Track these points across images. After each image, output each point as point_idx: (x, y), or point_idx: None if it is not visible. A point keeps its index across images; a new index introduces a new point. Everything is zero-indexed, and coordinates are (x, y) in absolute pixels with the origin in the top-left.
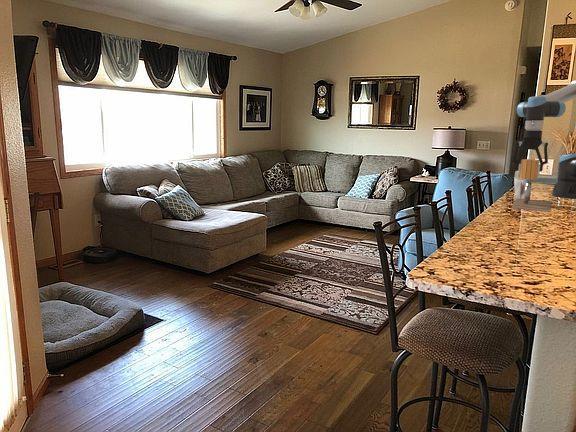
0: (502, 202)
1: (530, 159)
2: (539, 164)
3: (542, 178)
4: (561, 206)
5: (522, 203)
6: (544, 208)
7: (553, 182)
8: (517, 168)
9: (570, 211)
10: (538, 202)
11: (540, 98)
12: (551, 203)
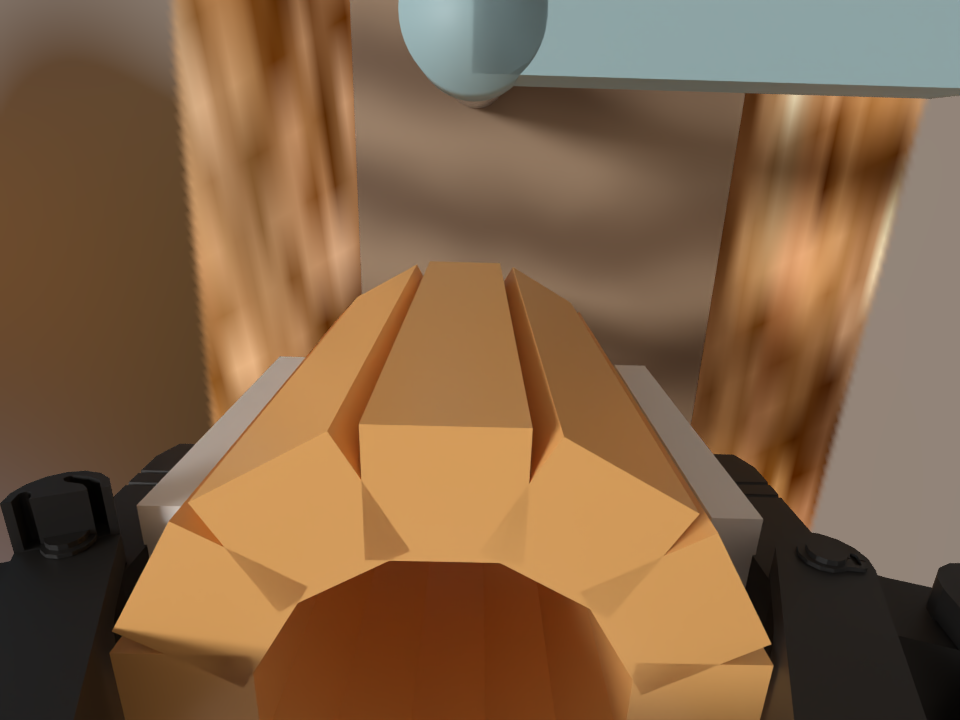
0: (233, 166)
1: (440, 494)
2: (733, 525)
3: (727, 81)
4: (822, 128)
5: None
6: None
7: (893, 94)
8: None
9: (843, 377)
10: (597, 190)
11: None
12: (727, 193)
